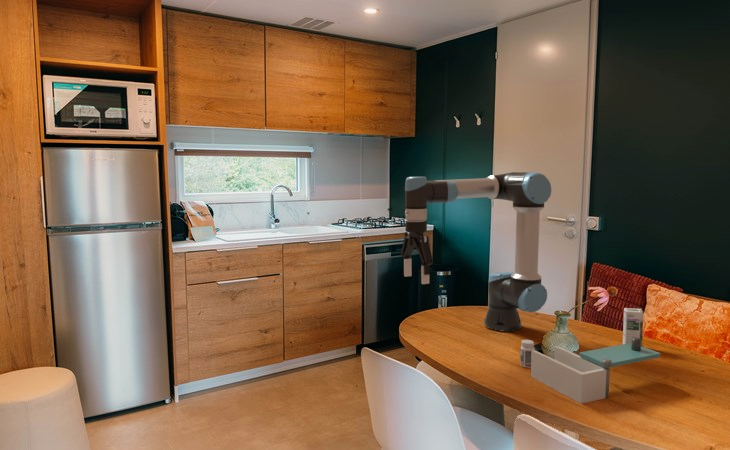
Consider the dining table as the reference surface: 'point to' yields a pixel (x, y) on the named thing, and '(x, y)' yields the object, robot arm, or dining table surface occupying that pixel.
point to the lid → (620, 354)
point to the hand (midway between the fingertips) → (416, 279)
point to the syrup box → (632, 325)
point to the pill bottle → (526, 353)
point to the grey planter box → (571, 375)
